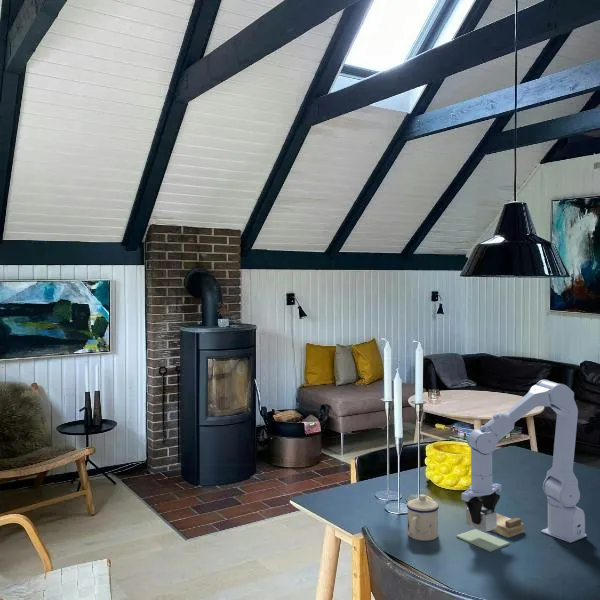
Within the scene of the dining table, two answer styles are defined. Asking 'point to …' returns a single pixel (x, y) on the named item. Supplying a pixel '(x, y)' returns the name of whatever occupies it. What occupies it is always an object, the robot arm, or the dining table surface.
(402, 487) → the dining table surface
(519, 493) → the dining table surface
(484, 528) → the pale grey box
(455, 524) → the dining table surface
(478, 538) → the mat
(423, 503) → the teacup with lid
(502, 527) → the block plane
